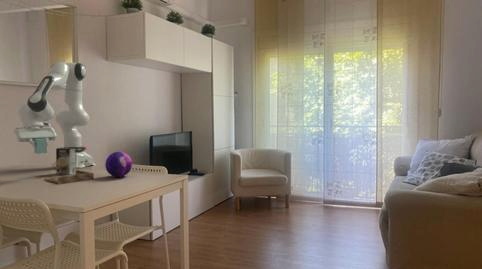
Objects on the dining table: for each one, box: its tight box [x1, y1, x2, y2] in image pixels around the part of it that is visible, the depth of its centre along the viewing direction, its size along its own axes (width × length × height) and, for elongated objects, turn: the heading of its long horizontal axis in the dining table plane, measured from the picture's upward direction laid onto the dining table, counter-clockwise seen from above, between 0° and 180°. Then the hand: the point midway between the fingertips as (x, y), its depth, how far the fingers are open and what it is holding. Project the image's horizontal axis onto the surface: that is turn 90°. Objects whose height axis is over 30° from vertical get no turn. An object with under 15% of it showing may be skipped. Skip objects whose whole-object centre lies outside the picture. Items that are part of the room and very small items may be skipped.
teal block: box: [33, 139, 48, 155], centre depth 205 cm, size 5×4×8 cm
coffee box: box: [55, 147, 76, 176], centre depth 224 cm, size 9×6×16 cm
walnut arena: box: [44, 169, 95, 185], centre depth 205 cm, size 20×18×4 cm
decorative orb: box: [104, 151, 133, 178], centre depth 215 cm, size 15×15×15 cm
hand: (41, 145), depth 205 cm, fingers closed on teal block, 5 cm apart
